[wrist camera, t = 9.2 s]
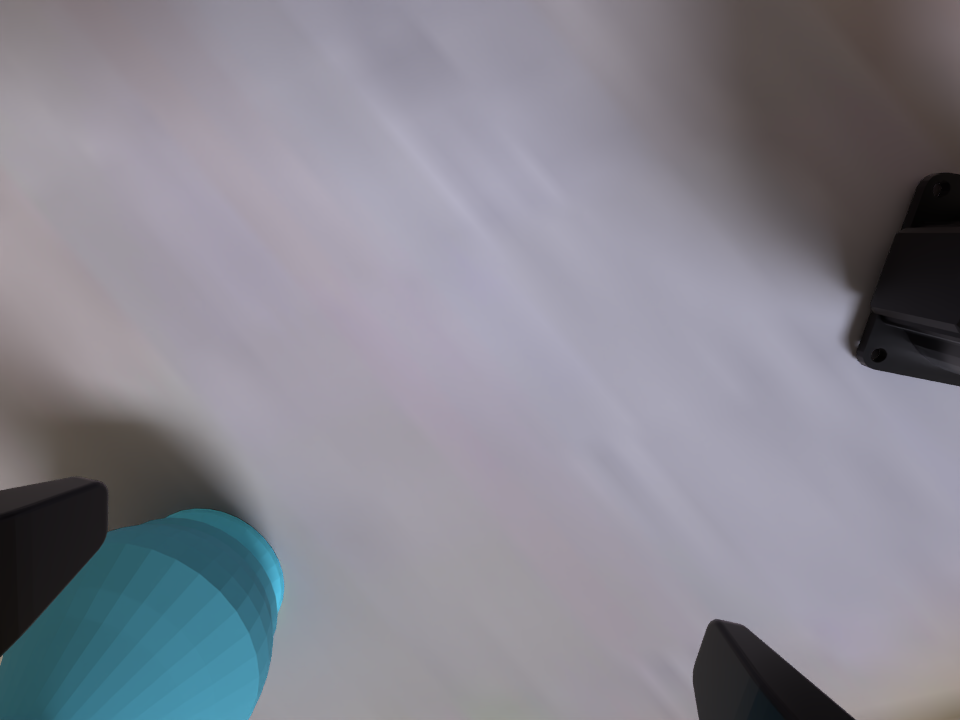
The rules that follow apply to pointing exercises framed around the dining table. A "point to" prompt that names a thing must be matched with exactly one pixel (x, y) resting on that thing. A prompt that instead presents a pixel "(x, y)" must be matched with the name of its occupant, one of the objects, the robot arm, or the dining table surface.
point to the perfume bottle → (154, 628)
